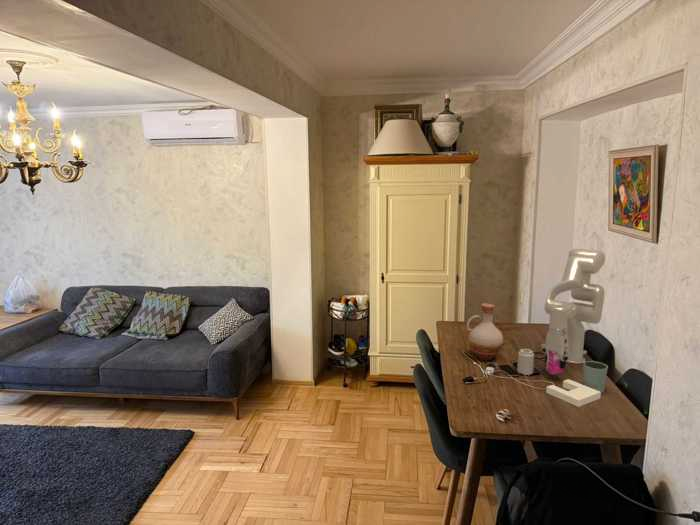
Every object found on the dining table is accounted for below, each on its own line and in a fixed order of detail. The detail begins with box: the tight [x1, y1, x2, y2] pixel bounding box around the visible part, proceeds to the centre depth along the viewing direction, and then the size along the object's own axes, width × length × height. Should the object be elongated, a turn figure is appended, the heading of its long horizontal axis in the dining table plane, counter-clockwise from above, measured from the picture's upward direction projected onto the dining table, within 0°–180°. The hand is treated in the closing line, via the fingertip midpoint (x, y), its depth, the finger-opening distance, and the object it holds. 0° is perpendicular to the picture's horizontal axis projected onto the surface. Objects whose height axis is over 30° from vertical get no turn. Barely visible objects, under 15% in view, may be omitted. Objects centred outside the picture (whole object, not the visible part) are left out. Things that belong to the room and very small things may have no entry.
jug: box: [466, 302, 504, 361], centre depth 259 cm, size 20×18×30 cm
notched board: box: [545, 378, 602, 408], centre depth 215 cm, size 16×16×3 cm
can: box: [516, 348, 535, 376], centre depth 239 cm, size 8×8×12 cm
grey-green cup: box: [582, 360, 609, 394], centre depth 221 cm, size 10×10×12 cm
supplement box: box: [546, 350, 564, 376], centre depth 232 cm, size 6×6×12 cm
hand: (555, 364), depth 233 cm, fingers closed on supplement box, 7 cm apart
